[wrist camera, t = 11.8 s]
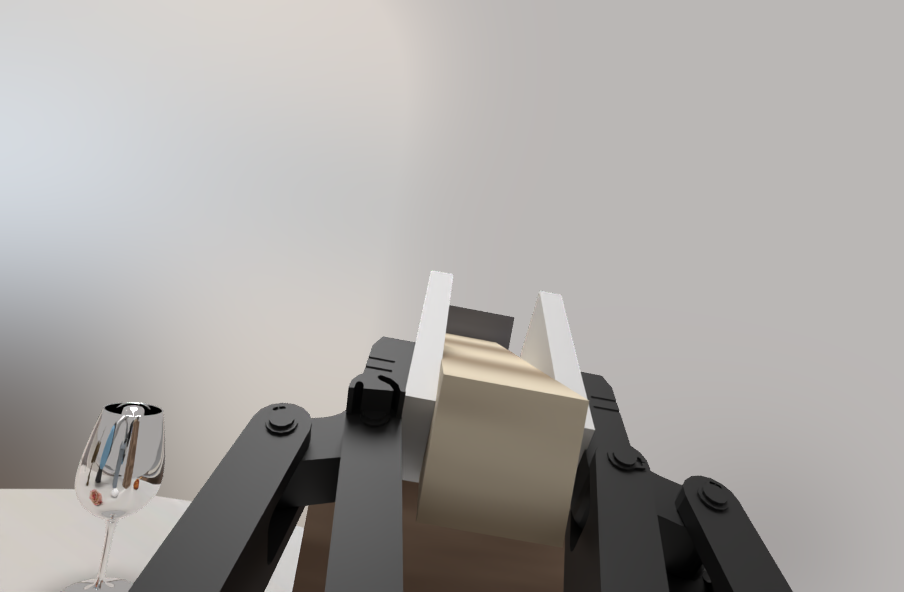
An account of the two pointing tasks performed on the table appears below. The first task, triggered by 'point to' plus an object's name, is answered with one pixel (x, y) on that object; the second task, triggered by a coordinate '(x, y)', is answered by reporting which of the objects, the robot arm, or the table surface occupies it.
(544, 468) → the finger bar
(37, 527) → the table surface
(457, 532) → the walnut stand
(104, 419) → the wineglass
